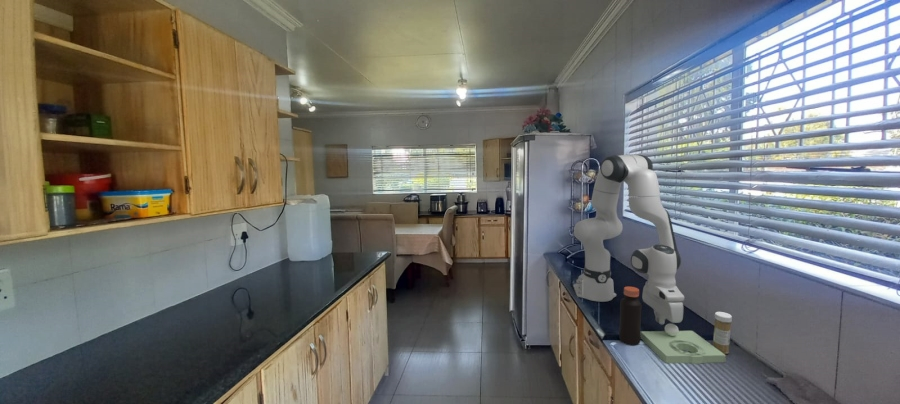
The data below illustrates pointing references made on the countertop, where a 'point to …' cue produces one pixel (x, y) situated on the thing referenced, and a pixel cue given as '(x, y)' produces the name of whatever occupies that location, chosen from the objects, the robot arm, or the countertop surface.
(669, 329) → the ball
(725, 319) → the sprinkles bottle
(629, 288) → the vinegar
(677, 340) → the putting mat
